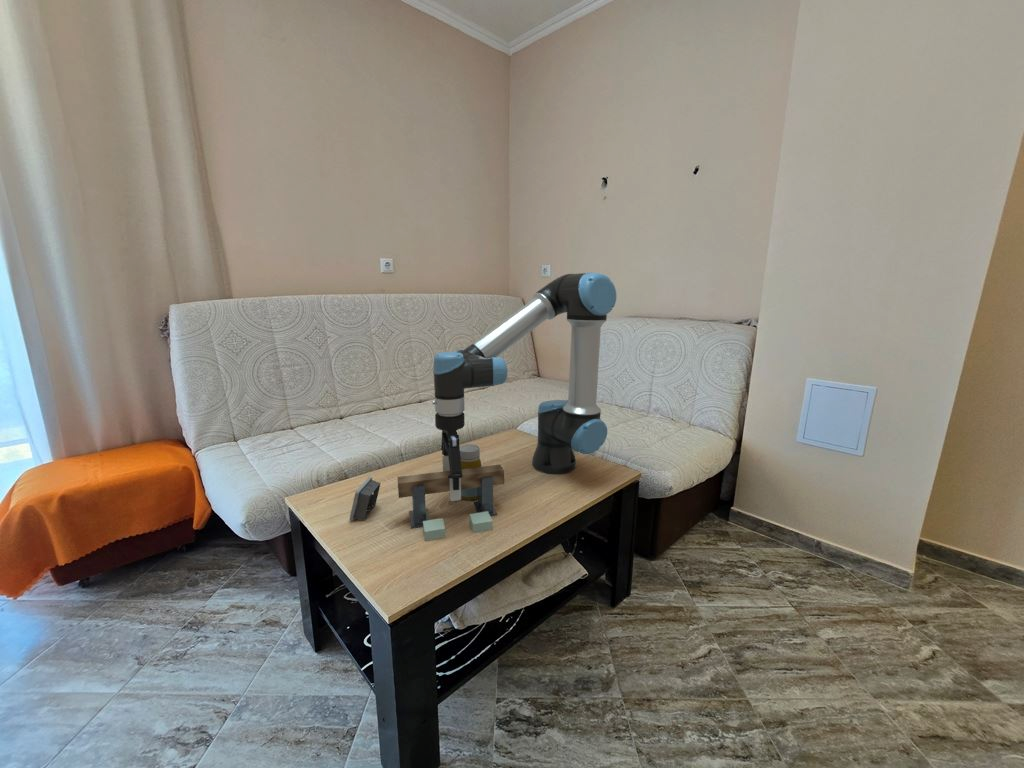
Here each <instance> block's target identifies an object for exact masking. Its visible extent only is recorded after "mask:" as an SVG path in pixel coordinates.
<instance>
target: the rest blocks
mask: <svg viewBox="0 0 1024 768" xmlns="http://www.w3.org/2000/svg"><path fill="white" fill-rule="evenodd" d="M468 518H469V526H470V528H471V531H472V533H473V534H476V533H483V532H488V531H493V526H494V525H493V519H492V516H490V515H489V513H488V511H487V512H480V513H477V512H475V513H469V517H468ZM422 528H423V536H424V541H425V542H428V541H434V540H440V539H445V538H447V537H446V525H445V522H444V519H443V518H442V517H441V518H436V519H435V518H434V519H430V520H427V521H423V527H422Z"/></svg>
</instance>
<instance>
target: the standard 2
mask: <svg viewBox="0 0 1024 768" xmlns="http://www.w3.org/2000/svg"><path fill="white" fill-rule="evenodd" d="M473 506H474V508H475V511H476V513H480V512H487V511H488V513H489V515H490V517H495V516H498V512H497V509H496V508H495V506H494V485H493V477H492V476H489V477H481V487H477V499H476V501H473Z"/></svg>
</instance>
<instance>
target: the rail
mask: <svg viewBox="0 0 1024 768" xmlns="http://www.w3.org/2000/svg"><path fill="white" fill-rule="evenodd" d="M448 475H450V471H443V470H442V471H434V472H428V473H418V474H411V475H404V476H397V491H398V498H399V499H400V498H401V499H402V498H409V497H412V496H413V489H412V486H419V485H424V486H425V495H431V494H437V493H438V494H439V493H446V492H450V478H449V479H448ZM462 475H463V476H462V478H461V490H462V489H470V488H477V487H481V477H489V476H492V477H493V486H497V485H499V486H500V485H505V470H504V468H503V467H502V465H501V464H493V465H486V466H481V467H476V468H467V469H462Z"/></svg>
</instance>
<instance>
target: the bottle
mask: <svg viewBox="0 0 1024 768" xmlns="http://www.w3.org/2000/svg"><path fill="white" fill-rule="evenodd" d="M459 446H460V457H461V468H462V469H467V468H476V467H482V461H481V459H480V457H481V456H480V454H481V453H480V451H481V449H480V446H478V445H477V444H462V445H459ZM461 500H465V501H474V500H477V488H470V489H462V490H461Z"/></svg>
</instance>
